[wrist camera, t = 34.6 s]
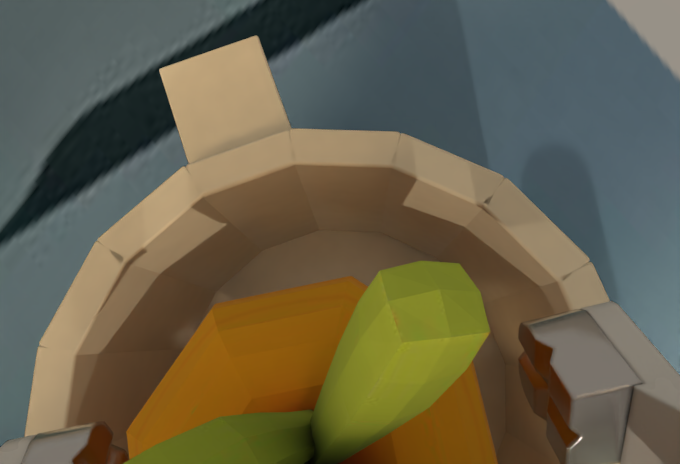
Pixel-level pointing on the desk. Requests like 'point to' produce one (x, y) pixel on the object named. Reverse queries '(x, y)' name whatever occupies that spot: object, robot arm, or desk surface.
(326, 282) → the carrot
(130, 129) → the desk surface
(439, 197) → the pot
